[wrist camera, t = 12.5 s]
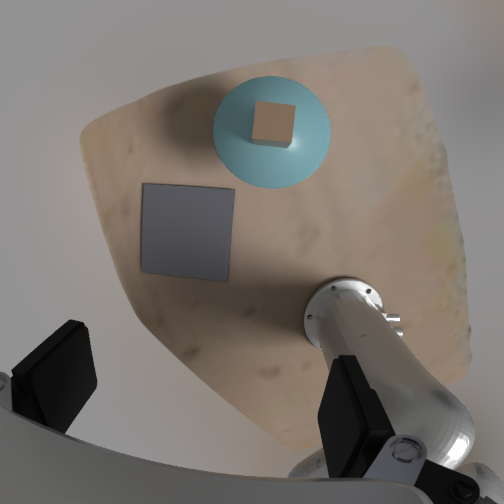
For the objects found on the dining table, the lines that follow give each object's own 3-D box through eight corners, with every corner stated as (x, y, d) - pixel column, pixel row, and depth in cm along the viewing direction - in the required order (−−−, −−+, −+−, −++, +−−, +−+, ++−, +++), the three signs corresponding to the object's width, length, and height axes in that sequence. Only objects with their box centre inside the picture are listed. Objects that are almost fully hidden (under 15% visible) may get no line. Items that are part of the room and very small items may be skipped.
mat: (235, 189, 42) (234, 190, 41) (227, 280, 45) (227, 281, 44) (145, 183, 42) (144, 183, 41) (142, 270, 45) (141, 271, 44)
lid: (333, 87, 29) (347, 71, 23) (322, 195, 32) (334, 199, 26) (221, 74, 29) (213, 54, 23) (208, 181, 32) (196, 182, 26)
